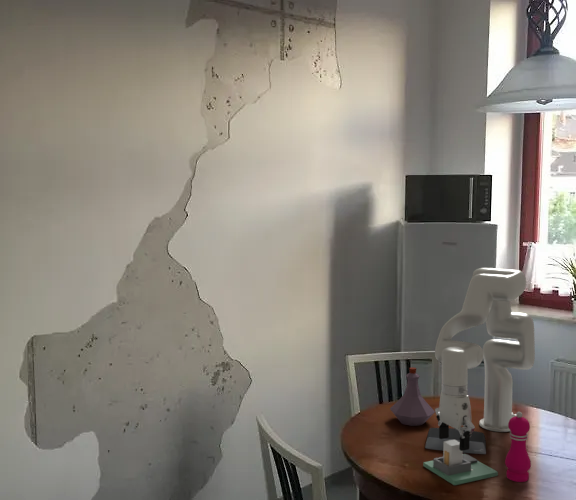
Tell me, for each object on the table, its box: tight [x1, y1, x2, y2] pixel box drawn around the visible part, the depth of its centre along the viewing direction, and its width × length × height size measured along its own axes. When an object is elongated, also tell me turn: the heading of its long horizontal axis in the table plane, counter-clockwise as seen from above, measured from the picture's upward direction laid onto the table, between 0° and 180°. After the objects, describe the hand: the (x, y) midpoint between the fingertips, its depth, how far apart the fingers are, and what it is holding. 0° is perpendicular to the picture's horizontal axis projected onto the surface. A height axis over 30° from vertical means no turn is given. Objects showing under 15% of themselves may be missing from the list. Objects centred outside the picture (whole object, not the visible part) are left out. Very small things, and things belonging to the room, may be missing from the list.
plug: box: [442, 440, 464, 466], centre depth 203 cm, size 4×4×8 cm
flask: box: [389, 366, 436, 427], centre depth 247 cm, size 16×16×20 cm
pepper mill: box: [504, 411, 532, 483], centre depth 198 cm, size 7×7×20 cm
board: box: [422, 453, 499, 486], centre depth 204 cm, size 16×15×4 cm
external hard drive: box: [424, 427, 487, 455], centre depth 225 cm, size 13×19×4 cm
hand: (453, 443), depth 203 cm, fingers open, 9 cm apart
